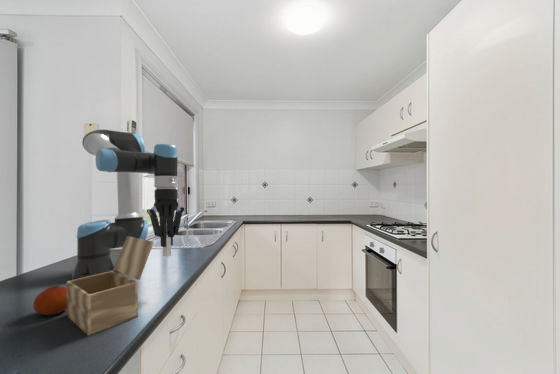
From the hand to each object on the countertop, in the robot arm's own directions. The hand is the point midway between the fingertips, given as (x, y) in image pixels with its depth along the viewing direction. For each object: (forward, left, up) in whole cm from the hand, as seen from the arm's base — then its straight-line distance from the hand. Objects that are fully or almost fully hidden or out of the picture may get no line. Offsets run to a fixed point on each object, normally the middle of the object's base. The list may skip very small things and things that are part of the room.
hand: (167, 255), depth 92 cm
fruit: (-15, -28, -14) cm, 34 cm away
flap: (0, -12, +2) cm, 12 cm away
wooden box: (0, -20, -13) cm, 24 cm away
